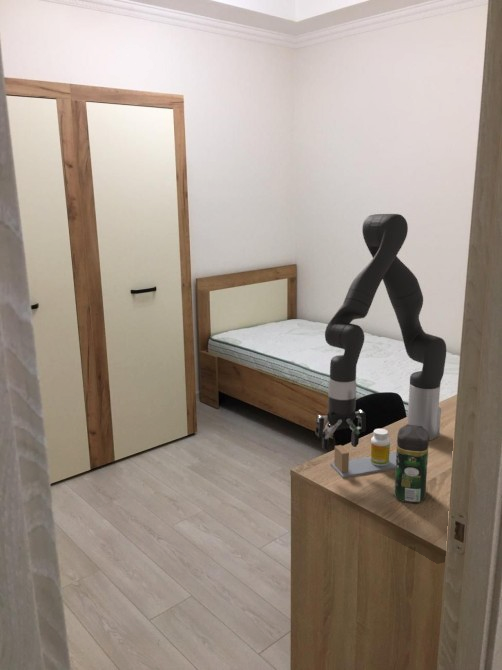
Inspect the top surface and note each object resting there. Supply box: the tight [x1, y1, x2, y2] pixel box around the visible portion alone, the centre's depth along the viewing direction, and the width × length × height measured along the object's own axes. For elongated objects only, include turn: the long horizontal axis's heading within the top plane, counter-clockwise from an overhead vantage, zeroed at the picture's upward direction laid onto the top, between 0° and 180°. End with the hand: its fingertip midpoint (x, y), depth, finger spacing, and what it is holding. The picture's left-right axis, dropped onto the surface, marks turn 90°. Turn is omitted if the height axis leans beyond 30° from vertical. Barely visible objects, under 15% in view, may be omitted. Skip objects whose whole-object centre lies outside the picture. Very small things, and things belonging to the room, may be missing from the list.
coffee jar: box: [394, 423, 430, 504], centre depth 148 cm, size 10×8×19 cm
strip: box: [330, 444, 396, 479], centre depth 166 cm, size 26×8×7 cm, turn 107°
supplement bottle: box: [369, 428, 391, 466], centre depth 165 cm, size 5×5×10 cm
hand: (340, 447), depth 162 cm, fingers open, 8 cm apart
